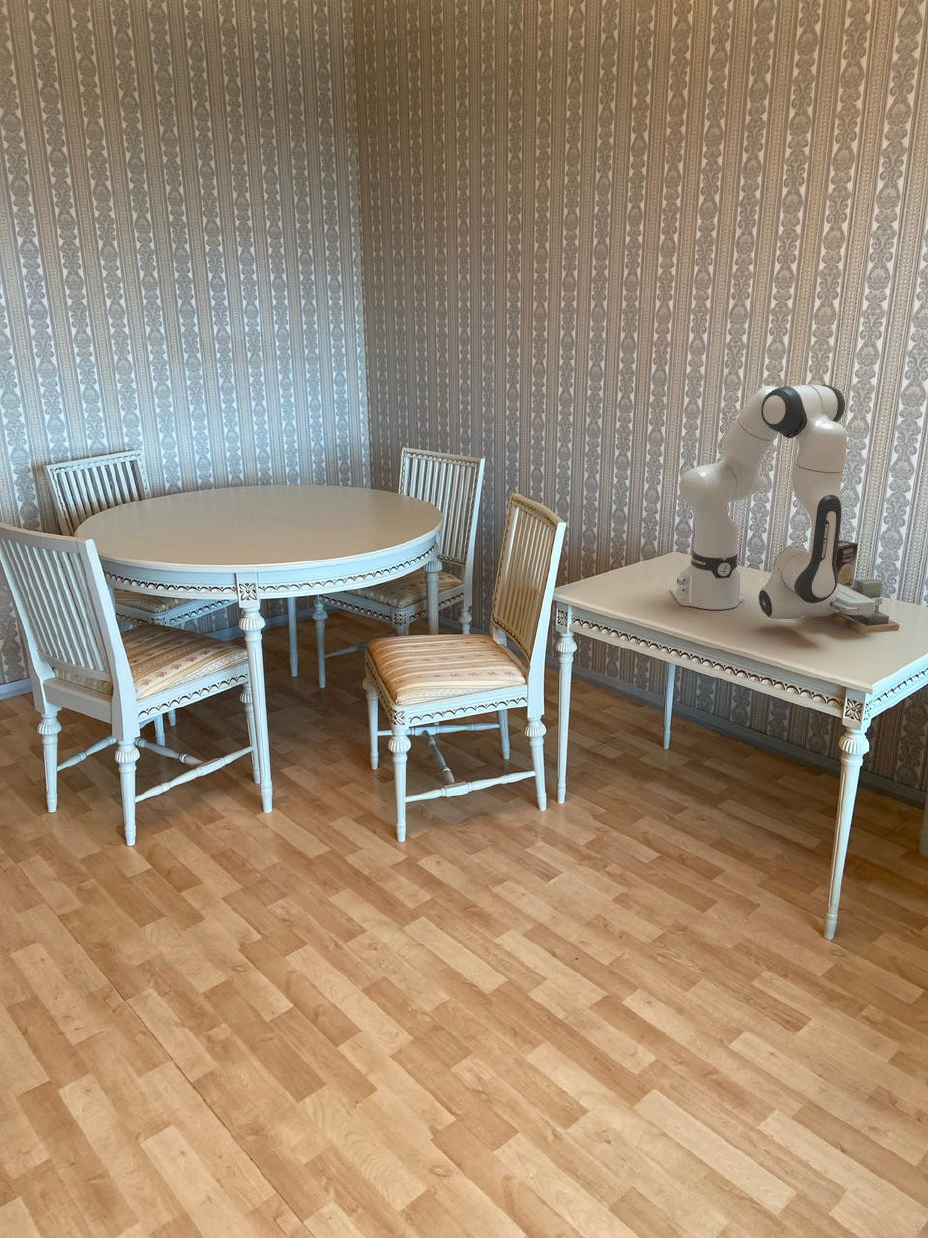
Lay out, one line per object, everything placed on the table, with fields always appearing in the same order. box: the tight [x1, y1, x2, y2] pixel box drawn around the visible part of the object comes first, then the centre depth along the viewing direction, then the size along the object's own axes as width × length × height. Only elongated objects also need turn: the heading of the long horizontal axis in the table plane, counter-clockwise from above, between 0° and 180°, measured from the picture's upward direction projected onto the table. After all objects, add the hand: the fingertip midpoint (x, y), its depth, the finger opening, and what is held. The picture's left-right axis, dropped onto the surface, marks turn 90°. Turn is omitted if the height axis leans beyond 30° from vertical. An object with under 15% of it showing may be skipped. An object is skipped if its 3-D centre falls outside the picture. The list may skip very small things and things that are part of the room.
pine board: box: [828, 610, 901, 634], centre depth 258 cm, size 21×11×2 cm, turn 12°
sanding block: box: [841, 577, 890, 626], centre depth 253 cm, size 12×6×10 cm, turn 13°
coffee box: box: [836, 539, 859, 587], centre depth 272 cm, size 9×6×16 cm
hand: (869, 595), depth 252 cm, fingers open, 8 cm apart
